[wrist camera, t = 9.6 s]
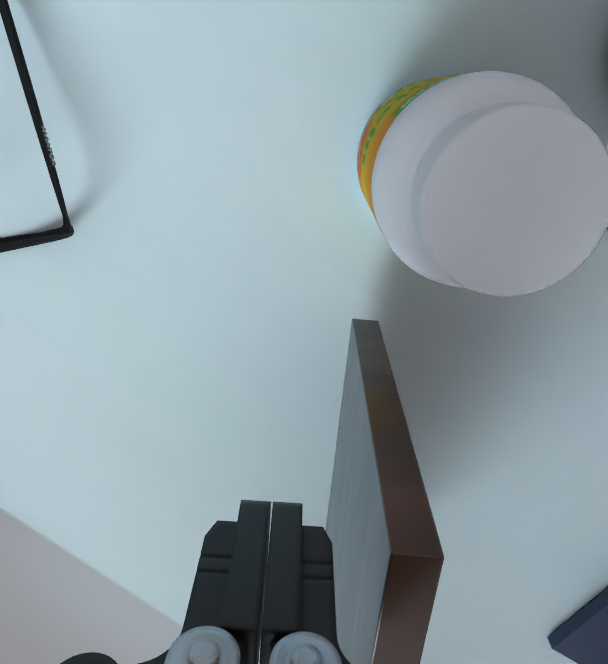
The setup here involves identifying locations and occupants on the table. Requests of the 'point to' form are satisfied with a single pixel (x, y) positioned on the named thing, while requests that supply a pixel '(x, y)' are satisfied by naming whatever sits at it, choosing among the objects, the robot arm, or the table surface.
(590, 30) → the table surface
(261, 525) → the robot arm
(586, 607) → the doorbell
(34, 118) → the glasses
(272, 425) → the table surface
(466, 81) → the supplement bottle
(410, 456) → the door
